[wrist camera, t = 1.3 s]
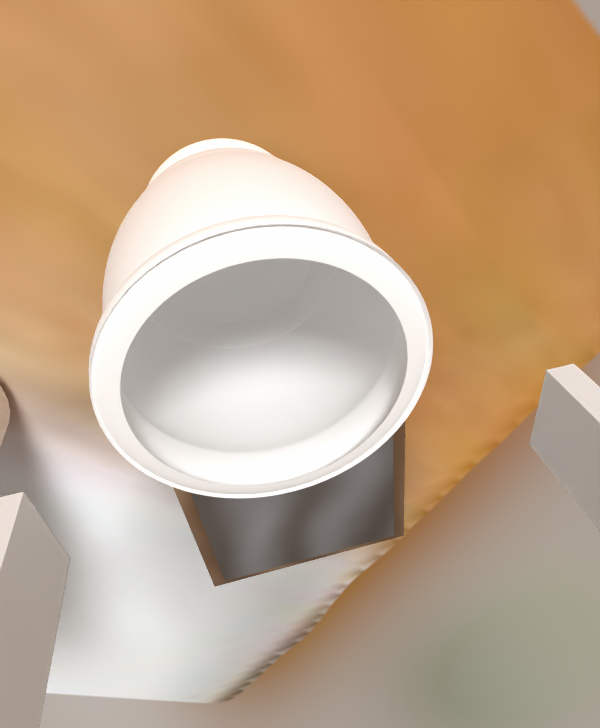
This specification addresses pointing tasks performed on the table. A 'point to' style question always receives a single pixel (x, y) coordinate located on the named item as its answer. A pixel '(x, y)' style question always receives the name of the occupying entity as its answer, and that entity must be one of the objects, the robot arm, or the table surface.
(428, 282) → the table surface
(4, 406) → the alcohol
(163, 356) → the jar
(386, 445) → the plinth
